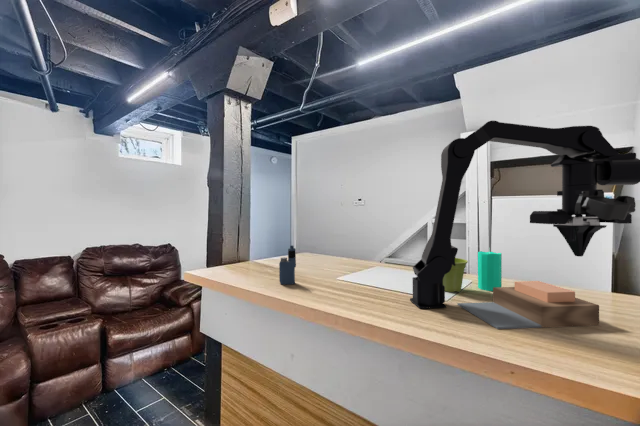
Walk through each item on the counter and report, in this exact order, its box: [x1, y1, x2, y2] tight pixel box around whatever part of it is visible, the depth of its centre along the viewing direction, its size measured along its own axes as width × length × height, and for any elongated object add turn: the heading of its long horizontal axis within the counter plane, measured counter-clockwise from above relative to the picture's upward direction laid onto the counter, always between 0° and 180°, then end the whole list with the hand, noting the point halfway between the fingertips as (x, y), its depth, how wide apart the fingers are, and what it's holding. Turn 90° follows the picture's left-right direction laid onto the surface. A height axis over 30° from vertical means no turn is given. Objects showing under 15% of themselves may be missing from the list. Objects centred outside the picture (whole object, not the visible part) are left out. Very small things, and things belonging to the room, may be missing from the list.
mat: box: [456, 301, 543, 330], centre depth 62 cm, size 9×14×1 cm, turn 4°
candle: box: [477, 247, 503, 292], centre depth 83 cm, size 6×6×12 cm
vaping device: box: [278, 245, 297, 285], centre depth 90 cm, size 3×5×12 cm, turn 89°
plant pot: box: [443, 257, 469, 293], centre depth 82 cm, size 9×9×9 cm
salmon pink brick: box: [514, 280, 576, 302], centre depth 63 cm, size 6×9×2 cm, turn 4°
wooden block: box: [492, 286, 600, 328], centre depth 63 cm, size 12×14×4 cm
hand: (578, 256), depth 63 cm, fingers closed
